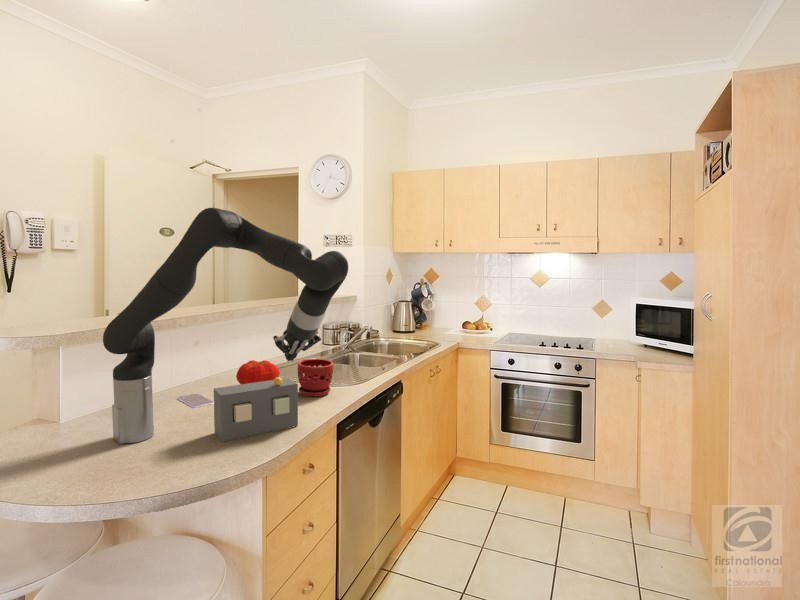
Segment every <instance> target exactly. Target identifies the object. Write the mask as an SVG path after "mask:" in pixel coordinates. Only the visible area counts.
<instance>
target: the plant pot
mask: <svg viewBox="0 0 800 600" xmlns="http://www.w3.org/2000/svg"><path fill="white" fill-rule="evenodd" d="M333 375H334V362H333V361H331V360H328V359H324V358H323V359H322V358H309V359H308V358H306V359H302V360H300V361H298V362H297V378H298V382H299V385H300V386H299V387H298V391H299V393H300V395H303V396H306V397H311V396H315V397H321V396H325V395H327V394H329V392H331V387H330V385H331V383H332V380H333Z"/></svg>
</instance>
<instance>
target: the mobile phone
mask: <svg viewBox="0 0 800 600" xmlns="http://www.w3.org/2000/svg"><path fill="white" fill-rule="evenodd" d="M178 399H179V400H178ZM177 400H178V401H180V402H181V401H182V402H181V403H183V402H184V404H185V405H187V406H188V405H189V406H188V407H190V408H192V409H195V408H201V406H202V407H205V406H204V405H206V406H209V405H210V406H211V405H214V400H211V399H209V398H208V397H205V396H203V395H202V394H199V393H192V394H186V395H182V396H178V397H177Z"/></svg>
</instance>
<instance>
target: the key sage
mask: <svg viewBox="0 0 800 600" xmlns="http://www.w3.org/2000/svg"><path fill="white" fill-rule="evenodd" d="M272 413H273V414H275V415H279V414H284V413H289V398H288V397H287V396H280V397H274V398H272Z"/></svg>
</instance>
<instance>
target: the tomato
mask: <svg viewBox="0 0 800 600" xmlns="http://www.w3.org/2000/svg"><path fill="white" fill-rule="evenodd" d="M280 375H281V374H280V369H279V367H277V366H276V365H275V364H274V363H273V362H270V361H269V360H262V361H258V360H254V359H253V360H248V361H247V362H246V363H243V364H242V365H241V366H239V368H238V370H237V372H236V375H235V377H236V380H237V382H238V383H239V385H241V384H248V383H255V382H262V381H269V380H274V379H275V378H276V377H280Z"/></svg>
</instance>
